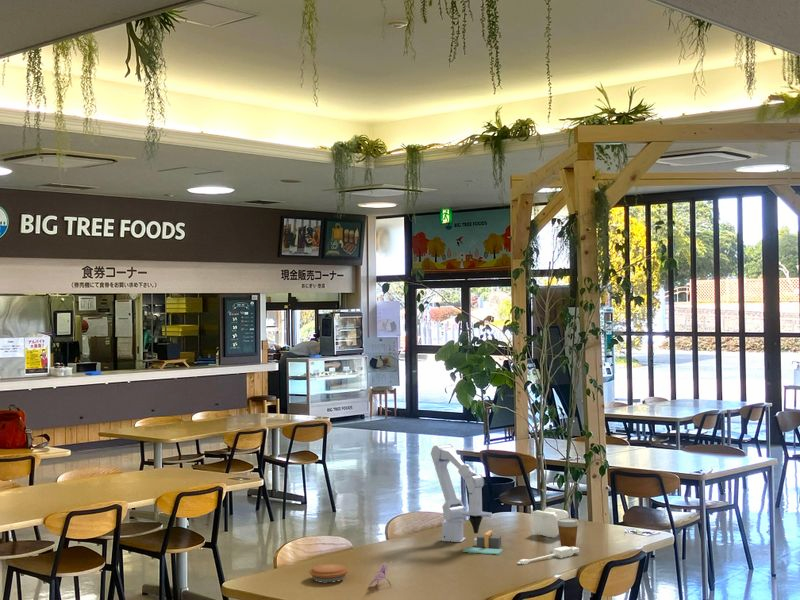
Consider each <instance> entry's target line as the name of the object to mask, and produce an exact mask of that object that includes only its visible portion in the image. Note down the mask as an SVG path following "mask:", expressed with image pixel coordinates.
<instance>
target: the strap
mask: <svg viewBox="0 0 800 600" xmlns="http://www.w3.org/2000/svg"><path fill="white" fill-rule="evenodd" d="M493 533H494V530H488V531H487V532H485V533H484V534H483V535H484V541H485V548H489V536H494V534H493Z"/></svg>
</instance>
